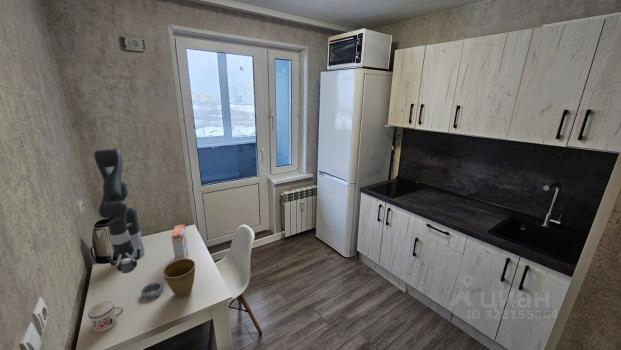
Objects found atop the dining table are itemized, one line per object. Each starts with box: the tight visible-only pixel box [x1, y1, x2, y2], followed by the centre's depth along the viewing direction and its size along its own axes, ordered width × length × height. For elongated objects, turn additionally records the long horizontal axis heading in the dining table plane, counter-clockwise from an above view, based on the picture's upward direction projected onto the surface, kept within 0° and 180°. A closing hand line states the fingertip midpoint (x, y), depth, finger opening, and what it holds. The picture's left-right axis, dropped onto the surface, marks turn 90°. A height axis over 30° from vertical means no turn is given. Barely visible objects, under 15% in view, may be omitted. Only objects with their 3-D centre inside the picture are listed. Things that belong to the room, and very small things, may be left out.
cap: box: [120, 258, 136, 274], centre depth 129 cm, size 6×6×5 cm
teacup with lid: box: [87, 300, 124, 333], centre depth 114 cm, size 12×9×12 cm
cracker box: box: [171, 224, 189, 261], centre depth 159 cm, size 14×6×21 cm, turn 19°
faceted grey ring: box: [141, 281, 164, 300], centre depth 134 cm, size 10×10×3 cm
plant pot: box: [162, 258, 196, 299], centre depth 132 cm, size 15×15×16 cm
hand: (127, 268), depth 129 cm, fingers closed on cap, 5 cm apart
